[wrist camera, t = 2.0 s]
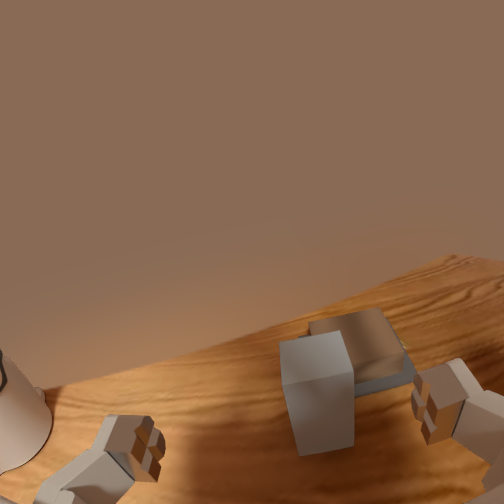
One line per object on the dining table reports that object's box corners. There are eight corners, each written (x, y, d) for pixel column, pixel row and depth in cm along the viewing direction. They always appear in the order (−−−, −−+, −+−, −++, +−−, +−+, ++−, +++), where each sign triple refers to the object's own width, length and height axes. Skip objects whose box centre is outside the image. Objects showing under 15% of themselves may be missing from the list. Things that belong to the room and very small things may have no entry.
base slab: (321, 391, 31) (319, 371, 30) (311, 341, 39) (308, 322, 38) (402, 372, 30) (404, 351, 29) (379, 326, 38) (378, 306, 37)
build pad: (309, 406, 29) (308, 404, 29) (298, 338, 41) (298, 336, 40) (419, 379, 28) (419, 377, 28) (386, 319, 39) (386, 317, 39)
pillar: (299, 456, 24) (281, 385, 21) (295, 416, 29) (278, 342, 25) (354, 446, 24) (353, 371, 20) (344, 407, 28) (339, 330, 25)
